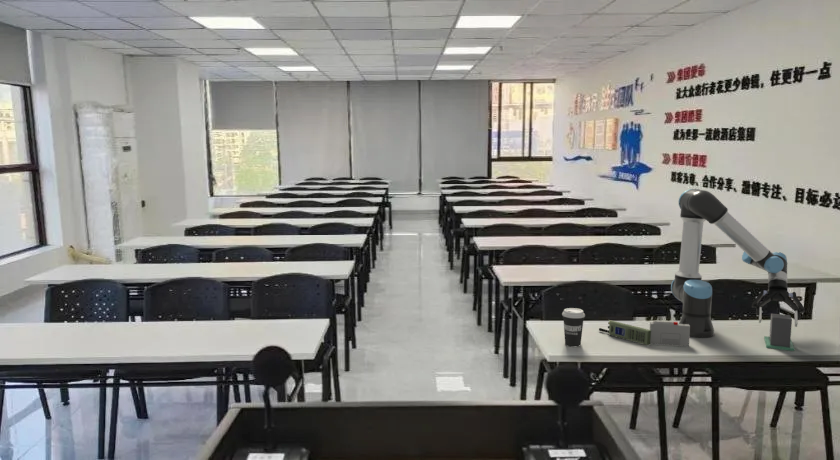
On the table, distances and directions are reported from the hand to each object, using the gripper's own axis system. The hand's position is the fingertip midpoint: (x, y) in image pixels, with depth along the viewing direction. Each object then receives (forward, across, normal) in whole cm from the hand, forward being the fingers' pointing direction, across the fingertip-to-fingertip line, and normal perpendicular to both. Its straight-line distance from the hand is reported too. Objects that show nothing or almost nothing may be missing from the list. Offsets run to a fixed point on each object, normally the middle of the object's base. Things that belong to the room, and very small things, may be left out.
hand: (778, 323), depth 262 cm
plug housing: (+12, 0, +3) cm, 12 cm away
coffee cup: (+38, +79, +26) cm, 91 cm away
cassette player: (+25, +42, +14) cm, 51 cm away
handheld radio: (+24, +61, +13) cm, 67 cm away
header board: (+11, 0, +1) cm, 11 cm away
